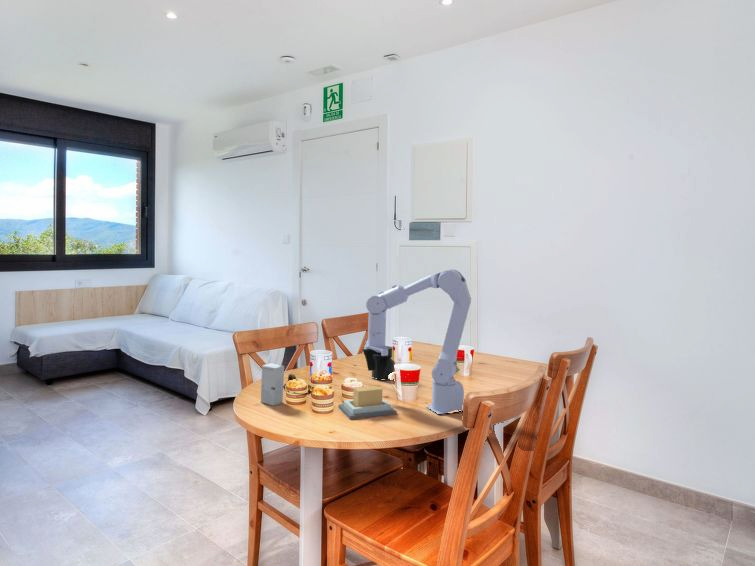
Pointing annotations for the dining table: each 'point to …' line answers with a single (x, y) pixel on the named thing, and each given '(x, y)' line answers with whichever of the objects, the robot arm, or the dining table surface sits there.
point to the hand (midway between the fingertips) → (375, 373)
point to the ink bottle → (389, 366)
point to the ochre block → (367, 396)
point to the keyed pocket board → (366, 410)
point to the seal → (295, 378)
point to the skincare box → (272, 384)
